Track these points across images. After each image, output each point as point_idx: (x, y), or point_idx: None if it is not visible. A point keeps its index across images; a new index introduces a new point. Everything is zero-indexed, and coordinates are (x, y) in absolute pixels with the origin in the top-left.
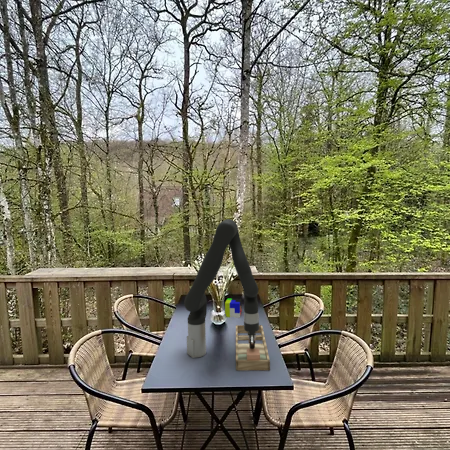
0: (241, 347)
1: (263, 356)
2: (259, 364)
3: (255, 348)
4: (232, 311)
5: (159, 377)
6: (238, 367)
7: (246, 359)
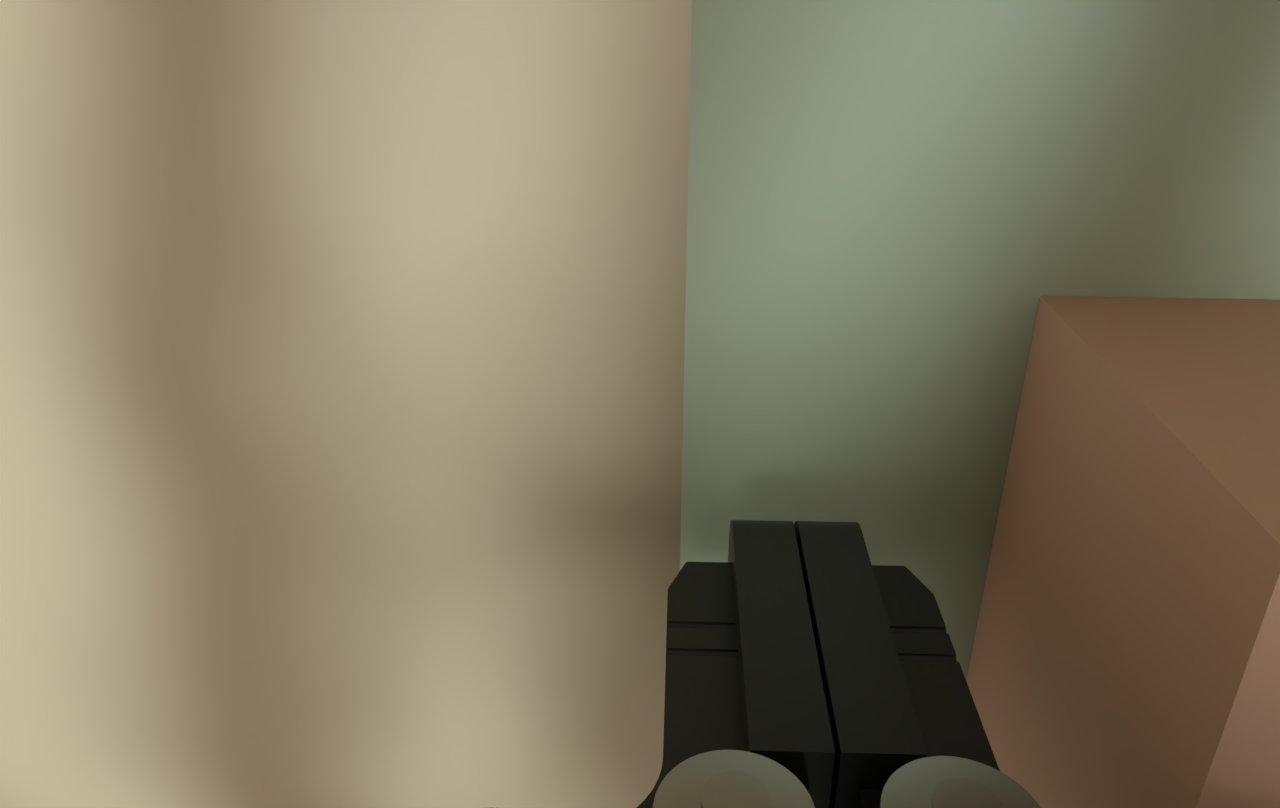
0: (238, 793)
1: (910, 74)
2: None
3: (216, 366)
4: None
5: None
6: None
7: None
